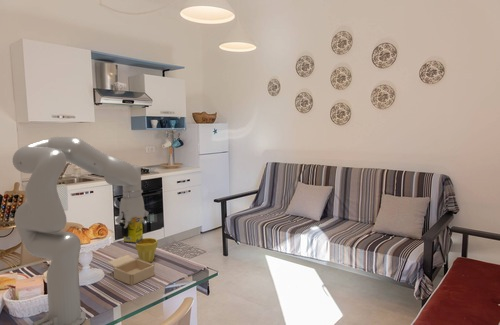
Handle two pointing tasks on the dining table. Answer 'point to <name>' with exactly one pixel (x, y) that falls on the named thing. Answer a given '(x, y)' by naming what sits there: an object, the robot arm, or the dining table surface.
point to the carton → (134, 271)
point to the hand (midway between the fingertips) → (133, 233)
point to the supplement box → (134, 231)
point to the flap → (121, 261)
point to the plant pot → (146, 249)
